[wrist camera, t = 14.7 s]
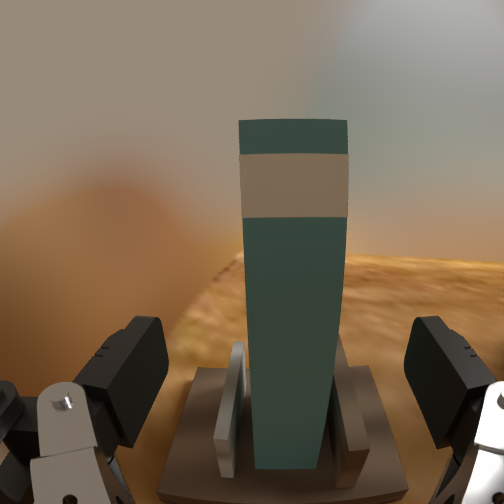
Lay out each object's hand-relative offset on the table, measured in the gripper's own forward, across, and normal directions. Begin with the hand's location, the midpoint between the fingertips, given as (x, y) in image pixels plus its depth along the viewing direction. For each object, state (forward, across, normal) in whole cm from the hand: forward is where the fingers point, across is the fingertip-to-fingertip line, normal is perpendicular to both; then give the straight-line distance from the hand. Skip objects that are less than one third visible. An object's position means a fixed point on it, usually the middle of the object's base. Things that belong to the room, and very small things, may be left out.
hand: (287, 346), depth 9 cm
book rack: (+8, 0, +15) cm, 17 cm away
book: (+8, 0, +13) cm, 15 cm away
